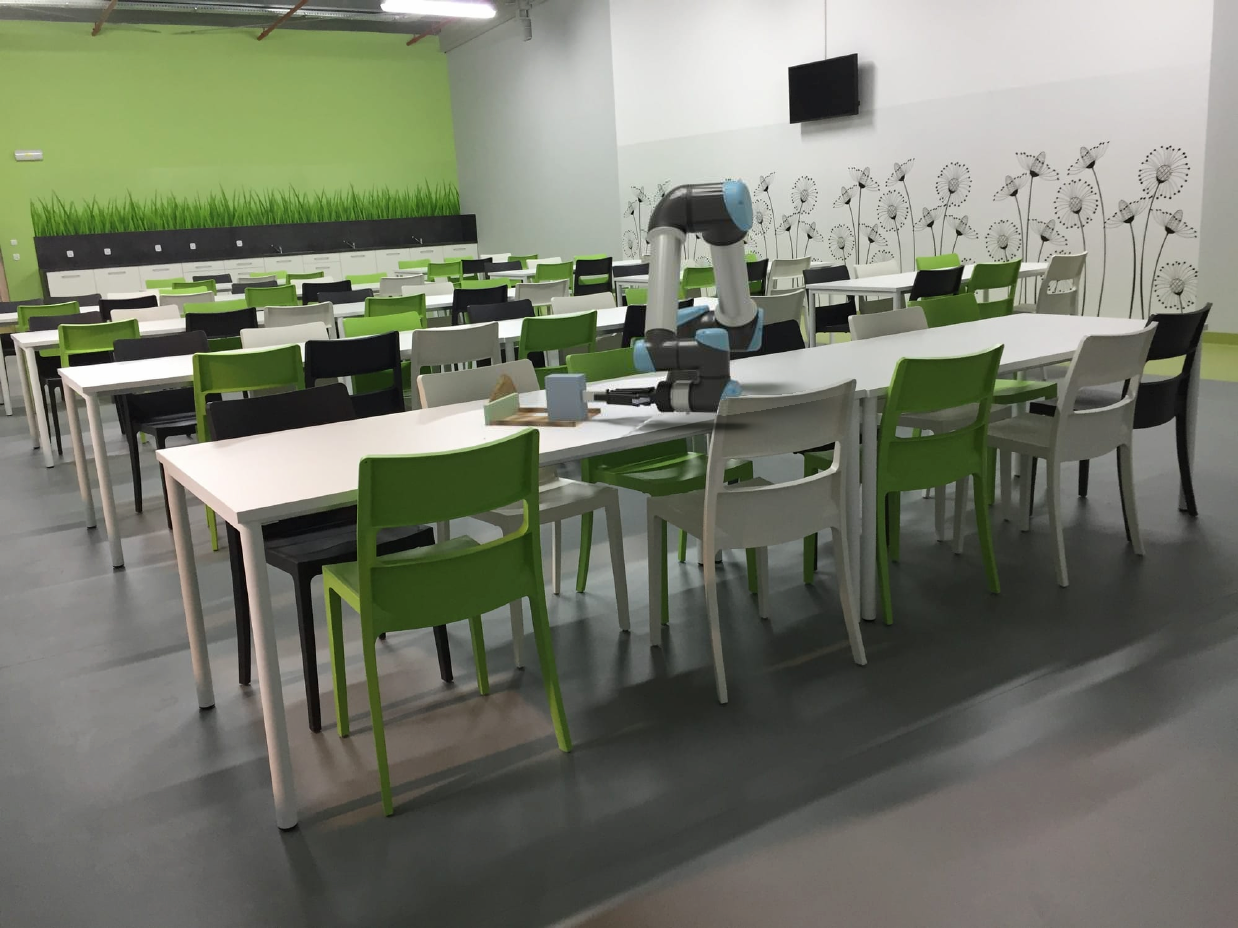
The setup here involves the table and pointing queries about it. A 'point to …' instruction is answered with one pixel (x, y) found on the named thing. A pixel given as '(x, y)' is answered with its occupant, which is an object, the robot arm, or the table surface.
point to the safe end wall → (501, 408)
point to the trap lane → (539, 418)
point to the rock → (503, 388)
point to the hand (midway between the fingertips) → (583, 396)
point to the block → (566, 397)
